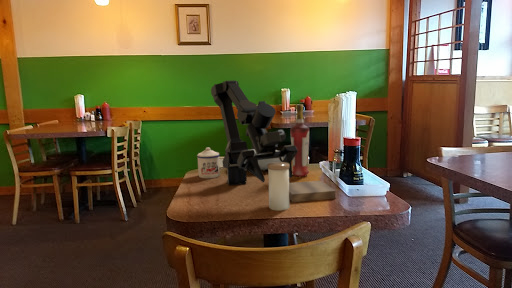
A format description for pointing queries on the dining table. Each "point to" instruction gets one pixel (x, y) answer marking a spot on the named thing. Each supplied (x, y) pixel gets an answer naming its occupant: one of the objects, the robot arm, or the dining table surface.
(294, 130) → the liquor
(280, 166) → the cream jar
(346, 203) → the dining table surface
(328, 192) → the beige rectangular box
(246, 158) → the robot arm
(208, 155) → the teacup with lid
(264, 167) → the serving bowl
